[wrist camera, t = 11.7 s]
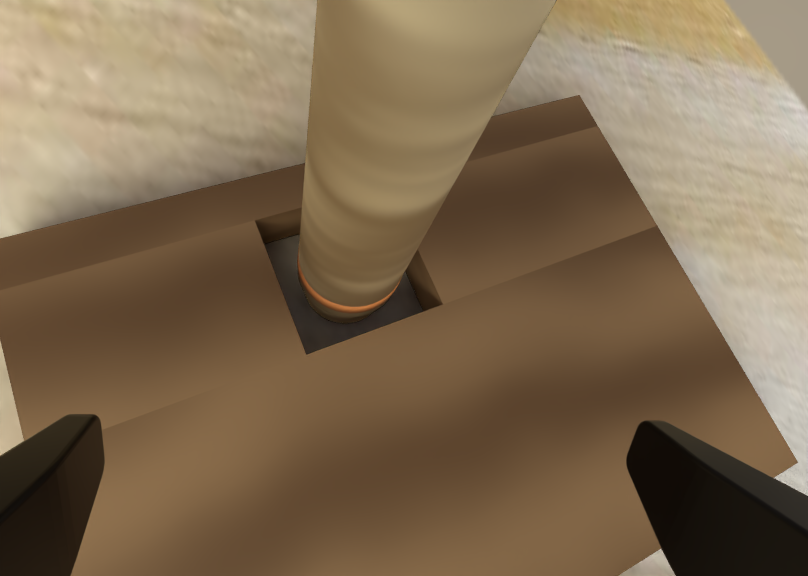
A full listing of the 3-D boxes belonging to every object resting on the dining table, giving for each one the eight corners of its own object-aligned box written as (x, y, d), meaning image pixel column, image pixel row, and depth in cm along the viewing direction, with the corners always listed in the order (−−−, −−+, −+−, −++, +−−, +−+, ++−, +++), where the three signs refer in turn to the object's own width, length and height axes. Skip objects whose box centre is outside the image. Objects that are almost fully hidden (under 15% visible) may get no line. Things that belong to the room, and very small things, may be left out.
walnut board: (752, 464, 21) (797, 462, 19) (148, 830, 14) (127, 883, 12) (556, 124, 25) (579, 94, 23) (9, 270, 17) (-23, 244, 16)
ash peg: (408, 296, 20) (751, -233, 5) (333, 349, 19) (519, -158, 4) (353, 226, 21) (530, -426, 6) (276, 273, 19) (262, -412, 5)
